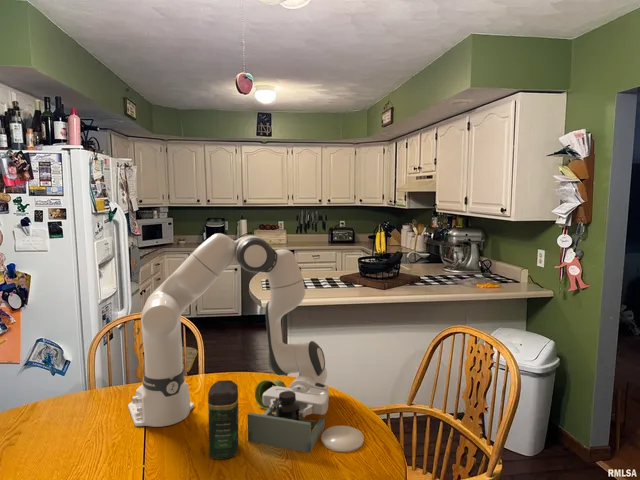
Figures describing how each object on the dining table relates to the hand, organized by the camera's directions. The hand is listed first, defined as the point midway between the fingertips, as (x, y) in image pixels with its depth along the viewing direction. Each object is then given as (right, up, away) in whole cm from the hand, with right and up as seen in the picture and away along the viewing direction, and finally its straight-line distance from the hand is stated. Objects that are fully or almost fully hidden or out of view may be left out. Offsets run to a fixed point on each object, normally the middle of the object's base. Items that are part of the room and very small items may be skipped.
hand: (286, 412), depth 127 cm
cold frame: (0, -7, +1) cm, 7 cm away
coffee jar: (-16, -8, -7) cm, 19 cm away
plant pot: (-4, -2, +24) cm, 25 cm away
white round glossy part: (+16, -7, -2) cm, 18 cm away
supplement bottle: (0, -7, +2) cm, 7 cm away
